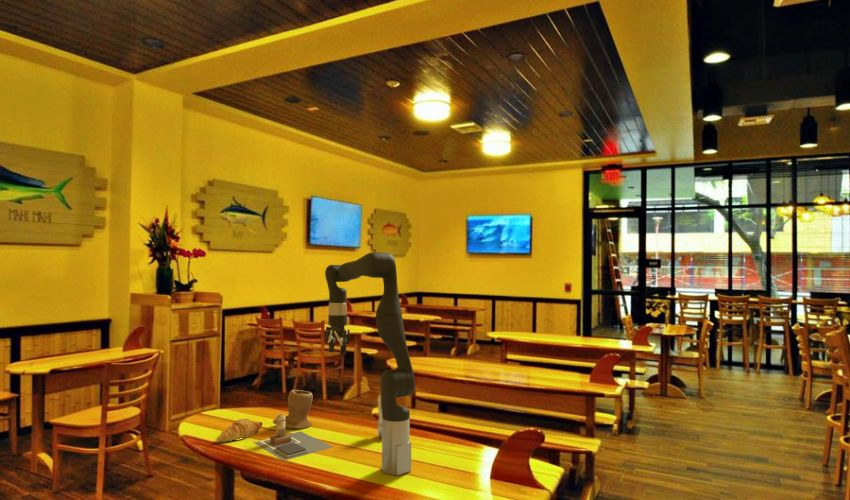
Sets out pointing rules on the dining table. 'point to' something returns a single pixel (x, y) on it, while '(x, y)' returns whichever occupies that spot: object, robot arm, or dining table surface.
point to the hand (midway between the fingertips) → (337, 353)
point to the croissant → (239, 430)
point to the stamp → (280, 432)
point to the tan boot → (298, 409)
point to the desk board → (294, 446)
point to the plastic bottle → (379, 417)
